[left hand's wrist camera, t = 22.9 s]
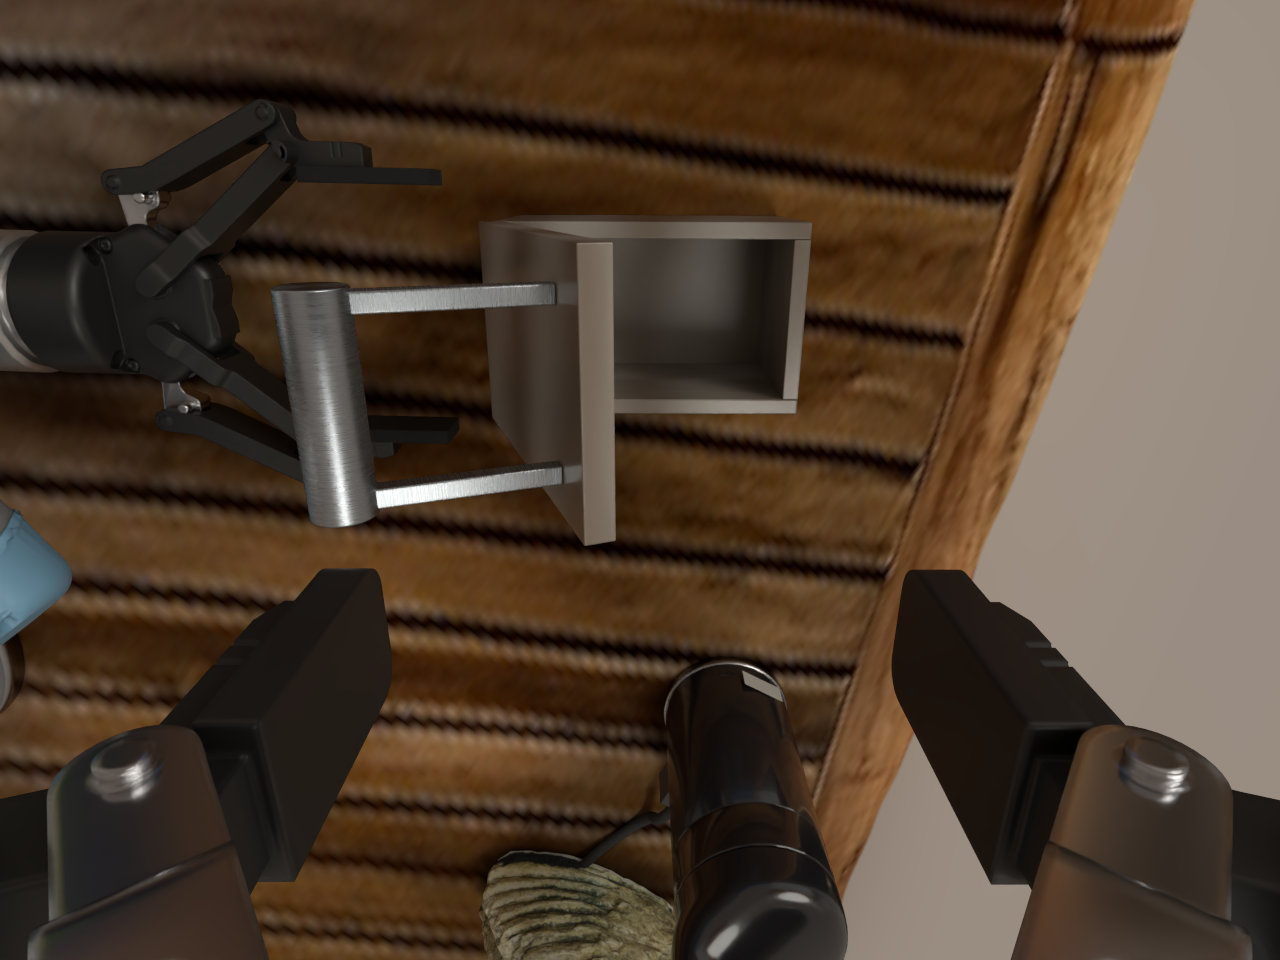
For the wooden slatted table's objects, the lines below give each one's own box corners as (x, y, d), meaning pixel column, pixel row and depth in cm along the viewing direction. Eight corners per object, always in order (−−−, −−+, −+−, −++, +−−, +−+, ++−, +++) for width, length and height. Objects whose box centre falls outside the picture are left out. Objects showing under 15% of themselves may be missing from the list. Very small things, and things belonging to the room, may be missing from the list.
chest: (778, 215, 45) (812, 222, 36) (767, 373, 48) (796, 414, 39) (521, 214, 45) (492, 220, 36) (529, 372, 48) (504, 413, 39)
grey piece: (613, 241, 21) (254, 249, 18) (616, 541, 25) (314, 591, 22) (502, 221, 35) (286, 223, 32) (513, 415, 39) (320, 435, 36)
